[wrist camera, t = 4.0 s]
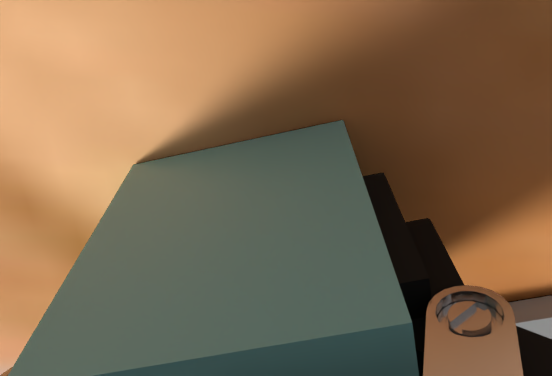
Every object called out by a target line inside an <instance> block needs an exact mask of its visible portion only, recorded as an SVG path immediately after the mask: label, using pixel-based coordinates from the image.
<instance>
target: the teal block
mask: <svg viewBox="0 0 552 376" xmlns="http://www.w3.org/2000/svg"><path fill="white" fill-rule="evenodd" d="M8 376H419V371H418V364H417V356H416V348H415V340H414V333H413V325H412V321H411V318H410V315H409V312H408V309H407V306H406V303H405V300H404V297H403V294H402V291H401V288H400V285H399V282H398V279H397V276H396V274H395V271H394V268H393V265H392V262H391V259H390V256H389V253H388V250H387V247H386V244H385V241H384V238H383V235H382V232H381V229H380V227H379V224H378V221H377V218H376V215H375V212H374V209H373V206H372V203H371V200H370V197H369V194H368V191H367V188H366V185H365V183H364V180H363V177H362V174H361V171H360V168H359V165H358V162H357V159H356V156H355V153H354V150H353V147H352V144H351V141H350V138H349V136H348V133H347V130H346V127H345V124H344V121H343V120H340V121H335V122H330V123H326V124H321V125H316V126H312V127H307V128H302V129H298V130H293V131H288V132H284V133H279V134H274V135H270V136H265V137H260V138H256V139H251V140H246V141H242V142H237V143H232V144H228V145H223V146H218V147H214V148H209V149H204V150H200V151H195V152H190V153H186V154H181V155H176V156H172V157H167V158H162V159H158V160H153V161H148V162H144V163H139V164H134V165H133V166H132V168H131V170H130V171H129V173H128V175H127V176H126V178H125V180H124V181H123V183H122V185H121V186H120V188H119V190H118V191H117V193H116V195H115V196H114V198H113V200H112V201H111V203H110V205H109V207H108V208H107V210H106V212H105V213H104V215H103V217H102V218H101V220H100V222H99V223H98V225H97V227H96V228H95V230H94V232H93V233H92V235H91V237H90V238H89V240H88V242H87V243H86V245H85V247H84V248H83V250H82V252H81V254H80V255H79V257H78V259H77V260H76V262H75V264H74V265H73V267H72V269H71V270H70V272H69V274H68V275H67V277H66V279H65V280H64V282H63V284H62V285H61V287H60V289H59V290H58V292H57V294H56V295H55V297H54V299H53V301H52V302H51V304H50V306H49V307H48V309H47V311H46V312H45V314H44V316H43V317H42V319H41V321H40V322H39V324H38V326H37V327H36V329H35V331H34V332H33V334H32V336H31V337H30V339H29V341H28V342H27V344H26V346H25V348H24V349H23V351H22V353H21V354H20V356H19V358H18V359H17V361H16V363H15V364H14V366H13V368H12V369H11V371H10V373H9V374H8Z"/></svg>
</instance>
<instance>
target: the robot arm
mask: <svg viewBox="0 0 552 376" xmlns="http://www.w3.org/2000/svg"><path fill="white" fill-rule="evenodd" d="M363 180H364V183H365V185H366V188H367V191H368V194H369V197H370V200H371V203H372V206H373V209H374V212H375V215H376V218H377V221H378V224H379V227H380V229H381V232H382V235H383V238H384V241H385V244H386V247H387V250H388V253H389V256H390V259H391V262H392V265H393V268H394V271H395V274H396V276H397V279H398V282H399V285H400V288H401V291H402V294H403V297H404V300H405V303H406V306H407V309H408V312H409V315H410V318H411V321H412V325H413V333H414V340H415V348H416V356H417V364H418V371H419V376H552V339H550V338H547V337H545V336H542V335H539V334H537V333H534V332H531V331H529V330H526V329H524V328H521V327H518V326H516V323H515V316H514V313H513V310H512V307H511V305H510V304H509V303H508V302H507V301H506V300H505V299H504V298H503V297H502V296H500V295H499V294H497V293H495V292H494V291H492V290H489V289H486V288H483V287H478V286H470V285H464V284H463V282H462V280H461V278H460V276H459V274H458V272H457V270H456V268H455V266H454V264H453V262H452V260H451V259H450V257H449V255H448V253H447V251H446V249H445V247H444V245H443V243H442V241H441V239H440V237H439V235H438V234H437V232H436V230H435V228H434V226H433V224H432V222H431V221H430V219H428V218H426V219H420V220H415V221H410V222H405V221H404V219H403V216H402V214H401V212H400V209H399V207H398V205H397V202H396V200H395V198H394V195H393V193H392V191H391V188H390V186H389V184H388V181H387V179H386V177H385V175H384V173H378V174H373V175H368V176H363ZM12 368H13V367H12ZM12 368H10V369H9V370H7V371H6V372H4V373H3V374H1V375H0V376H8V374H9V373H10V371H11V369H12Z"/></svg>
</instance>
